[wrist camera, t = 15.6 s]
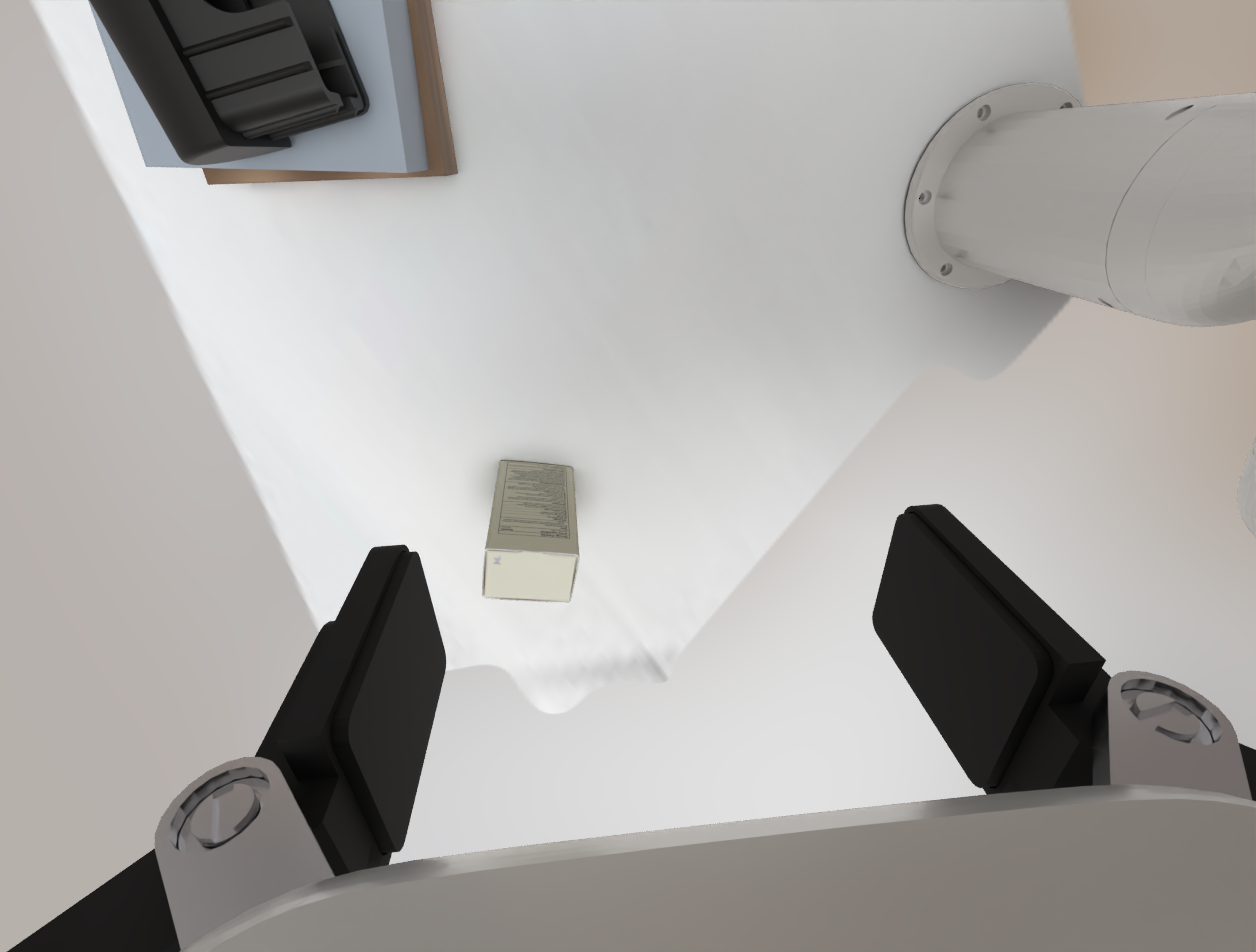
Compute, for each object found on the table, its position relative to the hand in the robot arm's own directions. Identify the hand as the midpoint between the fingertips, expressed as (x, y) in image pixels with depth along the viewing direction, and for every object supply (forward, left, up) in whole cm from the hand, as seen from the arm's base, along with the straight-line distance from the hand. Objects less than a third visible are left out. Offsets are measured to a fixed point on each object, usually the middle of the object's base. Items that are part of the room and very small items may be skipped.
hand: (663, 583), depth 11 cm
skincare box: (+6, +17, -34) cm, 38 cm away
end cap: (+15, -13, -24) cm, 31 cm away
